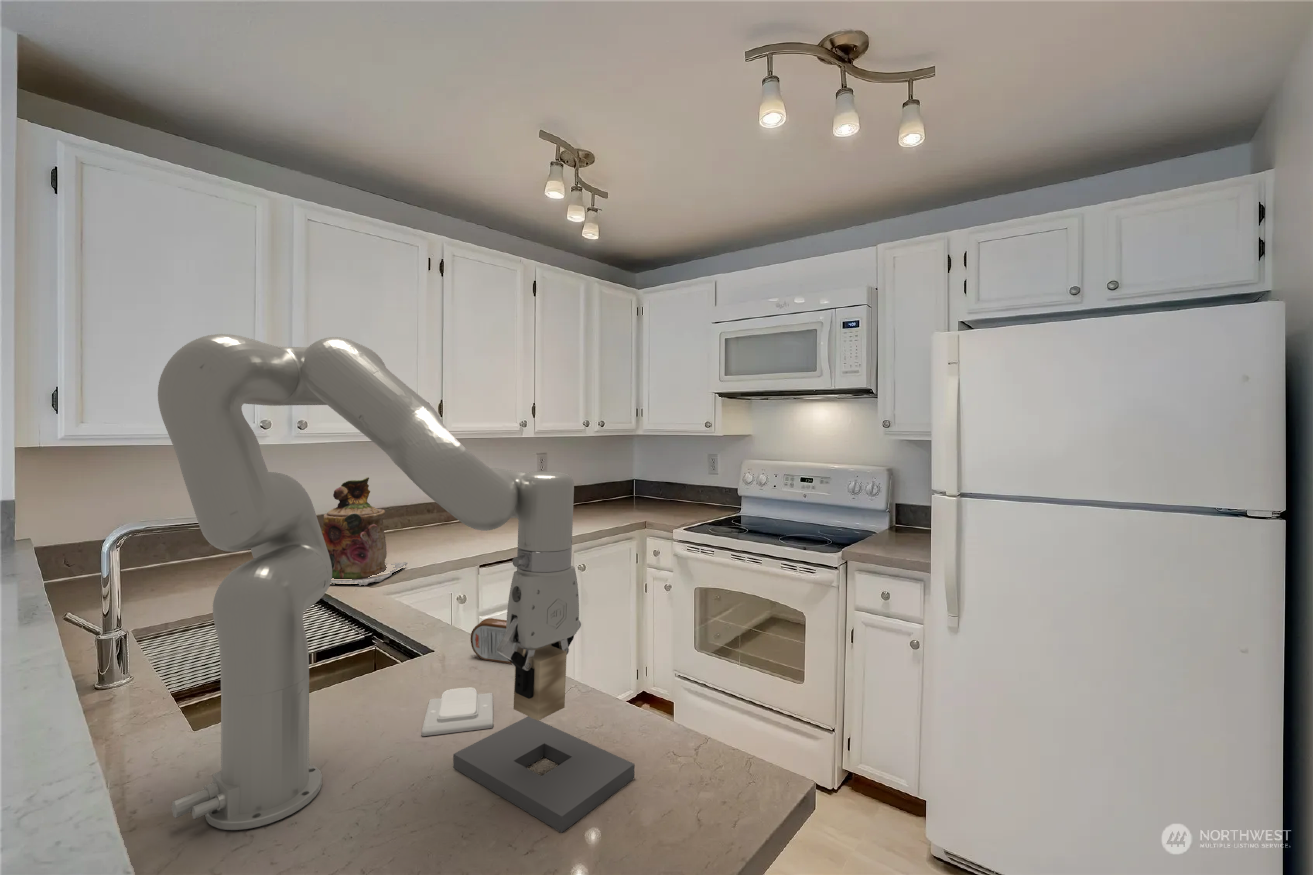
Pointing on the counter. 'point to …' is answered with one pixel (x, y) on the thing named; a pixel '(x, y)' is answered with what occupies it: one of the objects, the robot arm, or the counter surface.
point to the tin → (489, 639)
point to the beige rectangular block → (545, 684)
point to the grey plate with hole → (557, 792)
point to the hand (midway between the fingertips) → (539, 686)
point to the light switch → (458, 712)
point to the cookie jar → (356, 536)
